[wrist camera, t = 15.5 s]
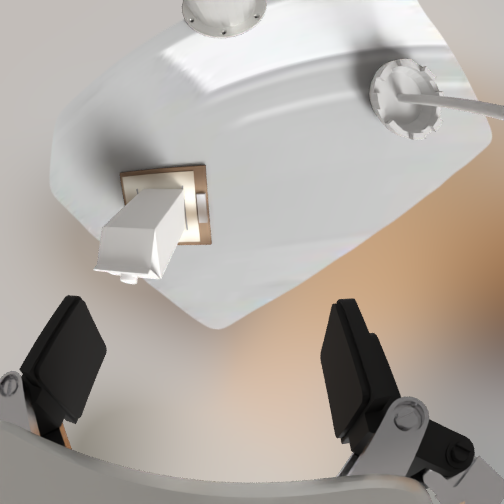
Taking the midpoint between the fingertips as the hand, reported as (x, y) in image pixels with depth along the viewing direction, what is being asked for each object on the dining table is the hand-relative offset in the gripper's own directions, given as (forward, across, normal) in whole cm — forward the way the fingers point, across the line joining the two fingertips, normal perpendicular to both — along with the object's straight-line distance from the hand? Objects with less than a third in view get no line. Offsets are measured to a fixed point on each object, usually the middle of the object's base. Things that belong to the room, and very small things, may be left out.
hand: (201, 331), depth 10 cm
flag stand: (+37, -26, -11) cm, 46 cm away
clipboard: (+36, +13, +9) cm, 40 cm away
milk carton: (+36, +13, +9) cm, 39 cm away
